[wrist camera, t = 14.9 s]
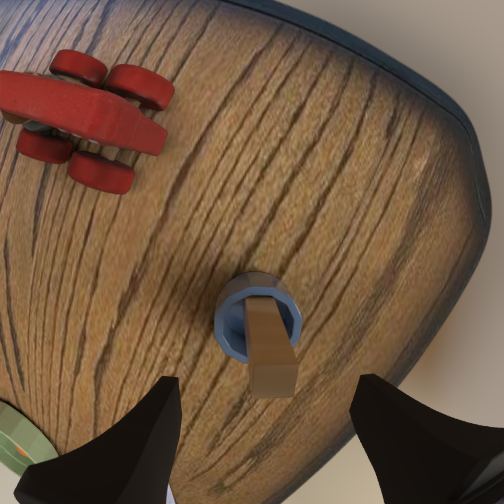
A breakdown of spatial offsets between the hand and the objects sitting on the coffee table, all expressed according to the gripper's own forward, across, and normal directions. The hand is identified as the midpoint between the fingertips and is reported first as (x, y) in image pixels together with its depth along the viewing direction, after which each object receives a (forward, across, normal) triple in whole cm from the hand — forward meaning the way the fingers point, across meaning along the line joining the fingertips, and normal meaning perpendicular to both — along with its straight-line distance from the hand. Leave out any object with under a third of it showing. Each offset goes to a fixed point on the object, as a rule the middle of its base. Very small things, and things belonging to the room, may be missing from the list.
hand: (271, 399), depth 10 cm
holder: (+9, 0, 0) cm, 9 cm away
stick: (+9, 0, -1) cm, 9 cm away
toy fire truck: (+9, +11, -12) cm, 19 cm away
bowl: (+9, +28, +21) cm, 36 cm away
